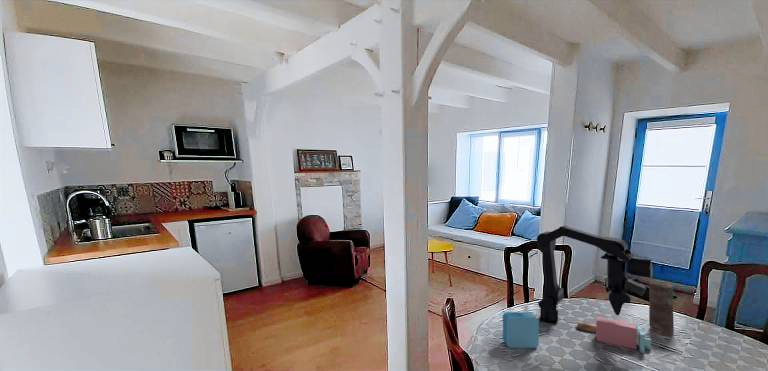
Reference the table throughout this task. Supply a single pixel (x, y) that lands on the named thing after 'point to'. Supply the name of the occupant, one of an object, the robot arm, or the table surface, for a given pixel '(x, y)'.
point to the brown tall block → (661, 308)
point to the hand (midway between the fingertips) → (616, 311)
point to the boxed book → (616, 332)
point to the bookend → (642, 340)
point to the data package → (520, 330)
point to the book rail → (587, 326)
